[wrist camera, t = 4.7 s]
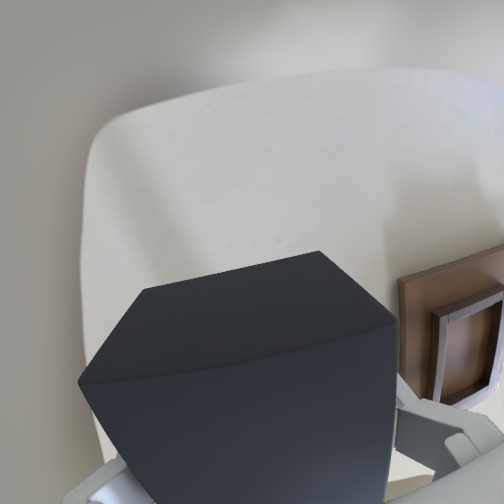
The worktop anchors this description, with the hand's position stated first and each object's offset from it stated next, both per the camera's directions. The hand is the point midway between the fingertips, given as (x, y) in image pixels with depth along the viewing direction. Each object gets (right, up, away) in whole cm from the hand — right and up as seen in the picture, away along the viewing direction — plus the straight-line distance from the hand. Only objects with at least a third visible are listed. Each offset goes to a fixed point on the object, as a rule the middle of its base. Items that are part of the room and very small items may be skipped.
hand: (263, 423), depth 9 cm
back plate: (+21, -5, +19) cm, 29 cm away
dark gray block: (0, 0, +2) cm, 2 cm away
